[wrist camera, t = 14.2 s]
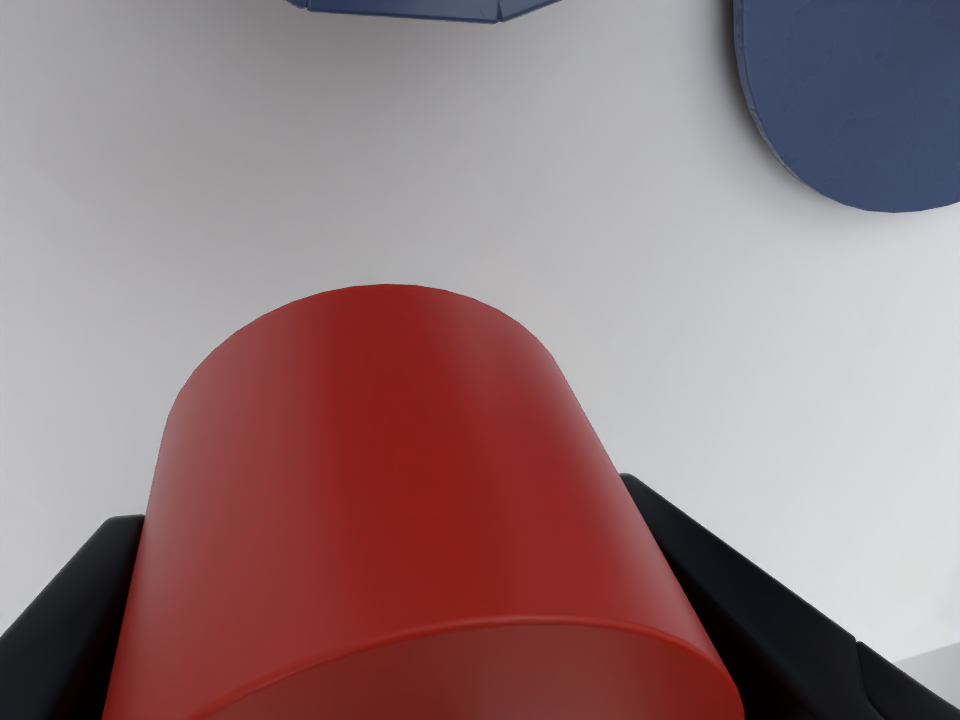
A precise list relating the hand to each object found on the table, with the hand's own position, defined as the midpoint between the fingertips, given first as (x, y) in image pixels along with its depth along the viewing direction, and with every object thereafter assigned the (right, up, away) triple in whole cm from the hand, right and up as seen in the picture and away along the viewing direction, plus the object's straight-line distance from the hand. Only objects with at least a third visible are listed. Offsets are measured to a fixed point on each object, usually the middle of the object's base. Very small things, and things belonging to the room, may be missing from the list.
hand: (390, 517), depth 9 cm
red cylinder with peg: (0, +1, +1) cm, 1 cm away
